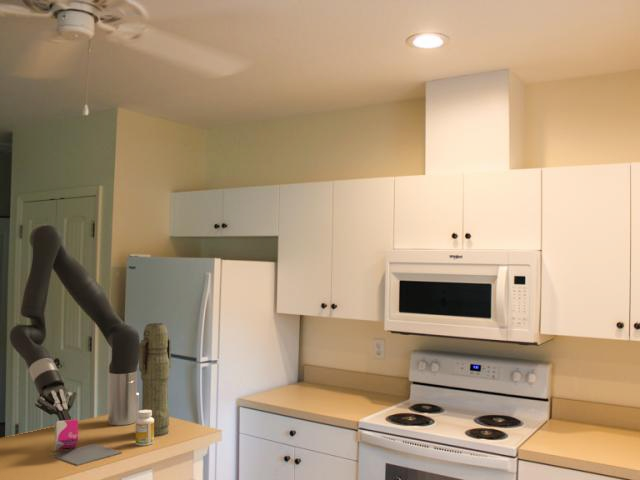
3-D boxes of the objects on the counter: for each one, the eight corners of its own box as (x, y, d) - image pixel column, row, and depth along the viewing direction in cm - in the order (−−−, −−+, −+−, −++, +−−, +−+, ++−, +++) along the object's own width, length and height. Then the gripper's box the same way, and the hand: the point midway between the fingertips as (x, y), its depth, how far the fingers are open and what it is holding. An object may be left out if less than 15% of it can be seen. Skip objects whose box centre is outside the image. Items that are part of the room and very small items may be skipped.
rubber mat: (94, 444, 187) (94, 443, 187) (122, 453, 179) (122, 452, 179) (49, 455, 176) (49, 454, 176) (77, 465, 168) (77, 464, 168)
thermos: (130, 436, 196) (131, 324, 198) (156, 427, 207) (157, 321, 208) (152, 439, 192) (153, 325, 194) (177, 430, 203) (178, 322, 204)
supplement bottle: (148, 439, 192) (148, 408, 193) (157, 443, 188) (157, 411, 189) (132, 443, 188) (132, 411, 189) (140, 447, 185) (141, 414, 185)
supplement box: (54, 452, 180) (55, 441, 171) (54, 431, 183) (56, 419, 174) (76, 449, 183) (78, 438, 174) (76, 429, 186) (78, 417, 177)
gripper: (29, 371, 185) (50, 419, 177) (70, 366, 195) (92, 411, 187) (20, 387, 188) (40, 435, 180) (61, 381, 198) (82, 426, 191)
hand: (67, 422), depth 184 cm, fingers closed
